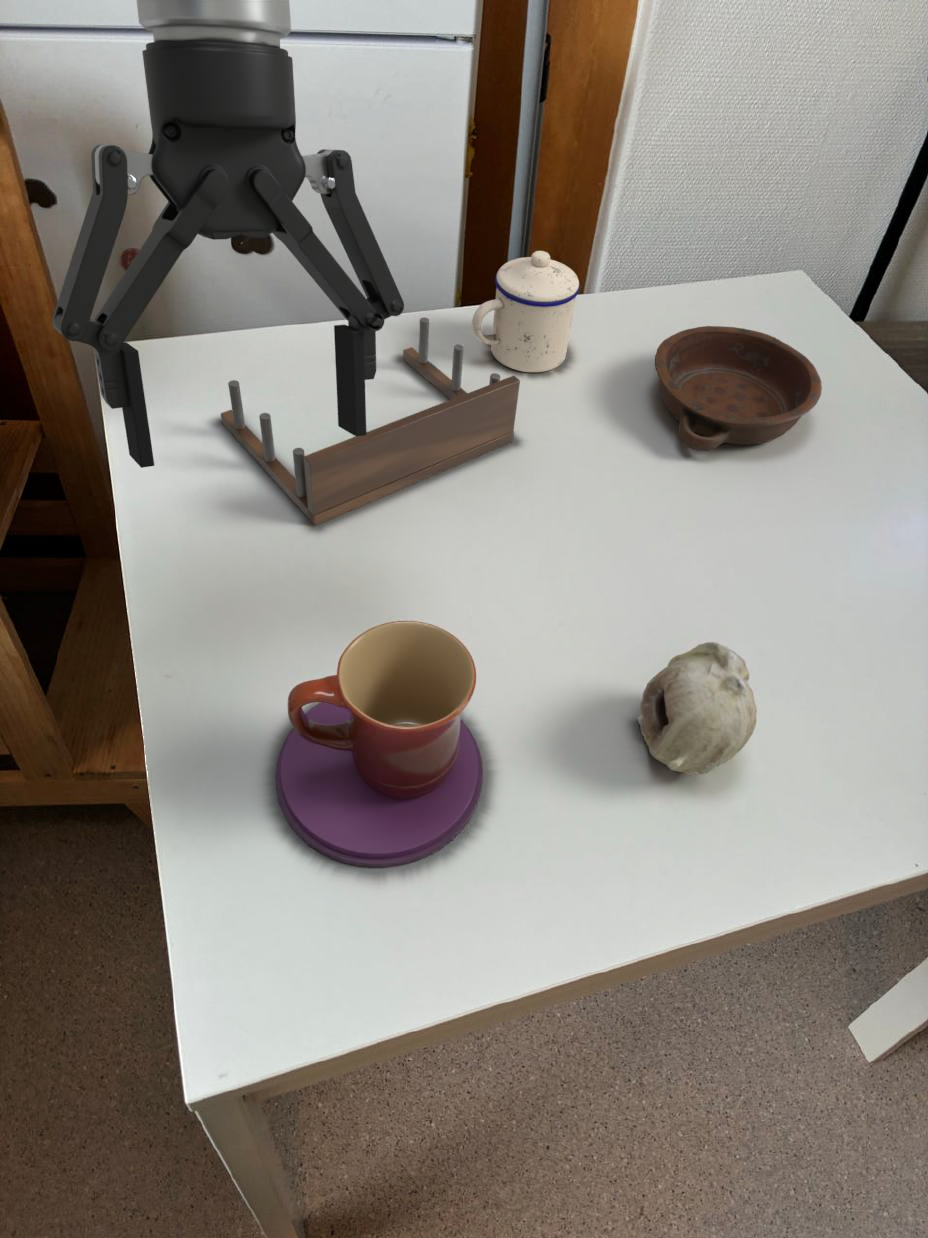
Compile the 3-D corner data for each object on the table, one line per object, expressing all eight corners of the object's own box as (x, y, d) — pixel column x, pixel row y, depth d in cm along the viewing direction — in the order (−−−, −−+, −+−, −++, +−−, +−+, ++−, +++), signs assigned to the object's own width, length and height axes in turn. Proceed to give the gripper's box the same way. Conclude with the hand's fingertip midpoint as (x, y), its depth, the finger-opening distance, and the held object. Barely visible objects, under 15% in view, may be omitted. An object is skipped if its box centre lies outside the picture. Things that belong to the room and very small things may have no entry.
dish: (608, 427, 94) (617, 386, 91) (690, 338, 107) (701, 299, 103) (766, 493, 89) (783, 453, 85) (833, 390, 102) (850, 351, 98)
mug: (455, 705, 68) (464, 615, 60) (475, 808, 62) (487, 722, 55) (294, 720, 66) (282, 629, 58) (298, 827, 60) (286, 741, 53)
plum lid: (238, 749, 65) (236, 740, 65) (406, 660, 72) (406, 651, 71) (347, 909, 58) (347, 902, 57) (523, 794, 65) (525, 785, 64)
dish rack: (221, 422, 91) (211, 360, 85) (411, 356, 101) (413, 296, 95) (315, 525, 82) (310, 463, 76) (513, 441, 92) (521, 380, 86)
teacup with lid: (542, 324, 107) (556, 228, 98) (582, 365, 102) (601, 267, 93) (452, 344, 103) (458, 245, 94) (489, 387, 98) (499, 287, 89)
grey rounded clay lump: (668, 713, 73) (706, 607, 68) (758, 771, 68) (806, 661, 64) (597, 750, 67) (633, 636, 62) (691, 817, 62) (738, 699, 57)
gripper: (397, 61, 55) (401, 407, 65) (-64, 27, 43) (26, 456, 53) (462, 53, 49) (455, 433, 59) (-47, 12, 38) (50, 495, 47)
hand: (253, 445), depth 56 cm, fingers open, 13 cm apart
